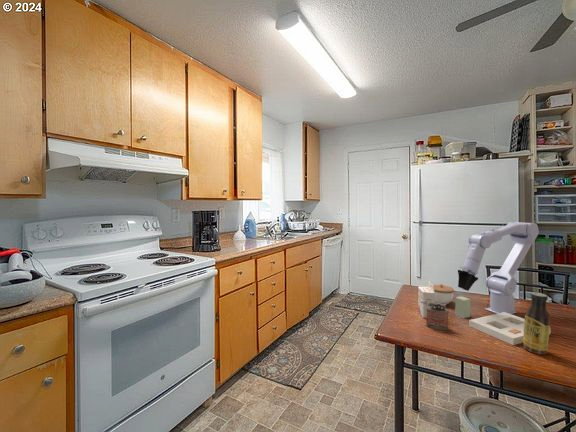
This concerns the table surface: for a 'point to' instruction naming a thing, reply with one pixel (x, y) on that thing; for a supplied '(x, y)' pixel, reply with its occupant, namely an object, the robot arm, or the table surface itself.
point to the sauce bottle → (537, 325)
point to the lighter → (437, 316)
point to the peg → (462, 307)
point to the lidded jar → (443, 294)
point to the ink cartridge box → (425, 298)
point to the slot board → (501, 327)
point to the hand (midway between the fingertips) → (463, 289)
